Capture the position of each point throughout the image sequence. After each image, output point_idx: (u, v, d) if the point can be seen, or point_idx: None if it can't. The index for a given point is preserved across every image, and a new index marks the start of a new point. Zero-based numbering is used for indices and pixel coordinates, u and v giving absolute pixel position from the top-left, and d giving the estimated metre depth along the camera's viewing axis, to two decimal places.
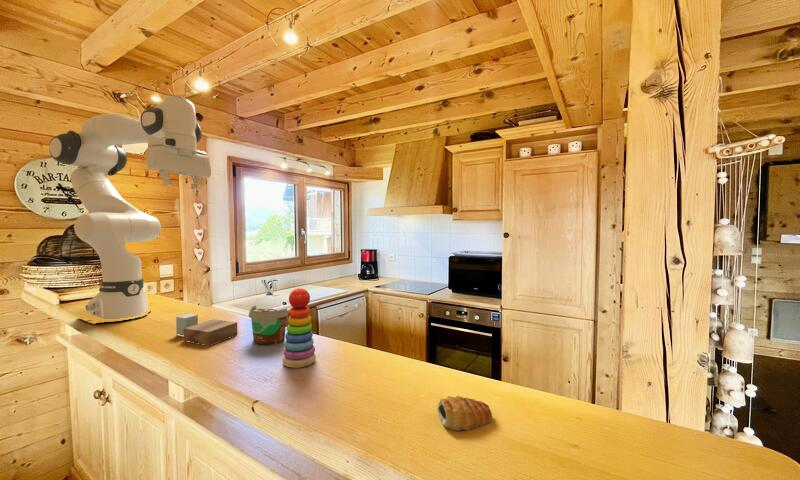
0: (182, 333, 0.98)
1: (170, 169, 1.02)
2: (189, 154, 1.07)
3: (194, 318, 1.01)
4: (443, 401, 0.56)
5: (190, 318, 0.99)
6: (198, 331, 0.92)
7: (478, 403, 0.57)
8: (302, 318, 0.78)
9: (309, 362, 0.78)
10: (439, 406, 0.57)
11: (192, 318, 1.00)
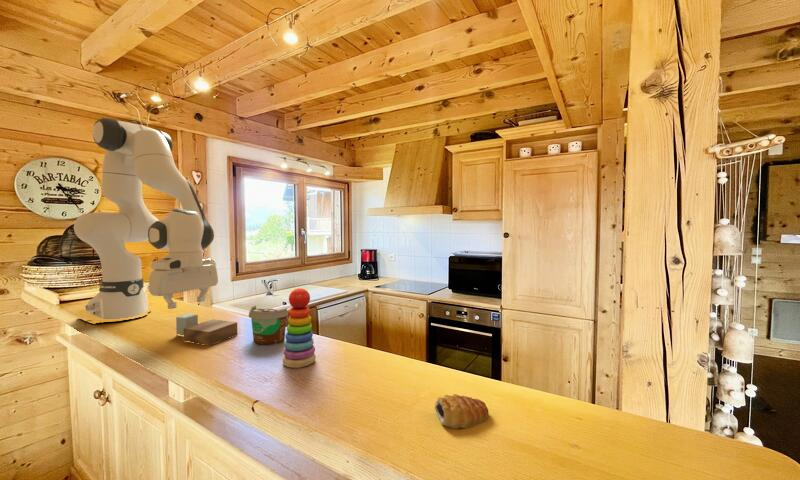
0: (182, 333, 0.98)
1: (175, 292, 0.95)
2: (195, 270, 0.99)
3: (194, 318, 1.01)
4: (441, 400, 0.56)
5: (190, 318, 0.99)
6: (198, 331, 0.92)
7: (475, 401, 0.58)
8: (302, 318, 0.78)
9: (309, 362, 0.78)
10: (437, 405, 0.58)
11: (192, 318, 1.00)
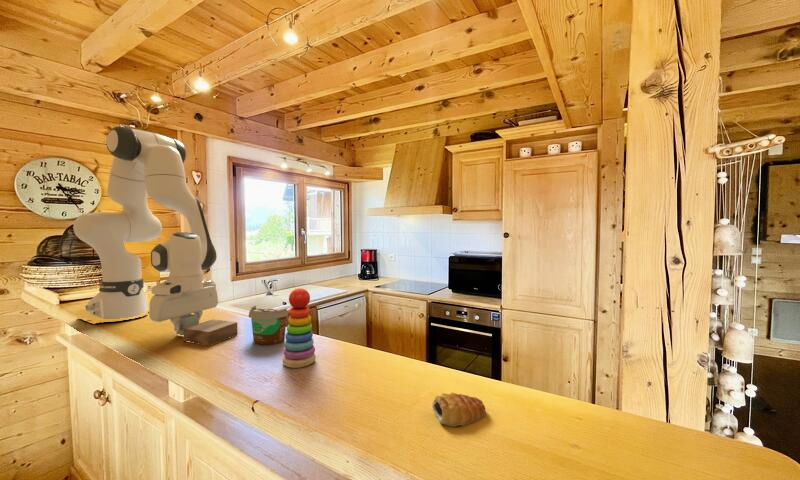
0: (182, 333, 0.98)
1: (175, 316, 0.95)
2: (195, 293, 1.00)
3: (194, 318, 1.01)
4: (439, 398, 0.57)
5: (190, 318, 0.99)
6: (198, 331, 0.92)
7: (472, 399, 0.59)
8: (302, 318, 0.78)
9: (309, 362, 0.78)
10: (434, 403, 0.58)
11: (192, 318, 1.00)
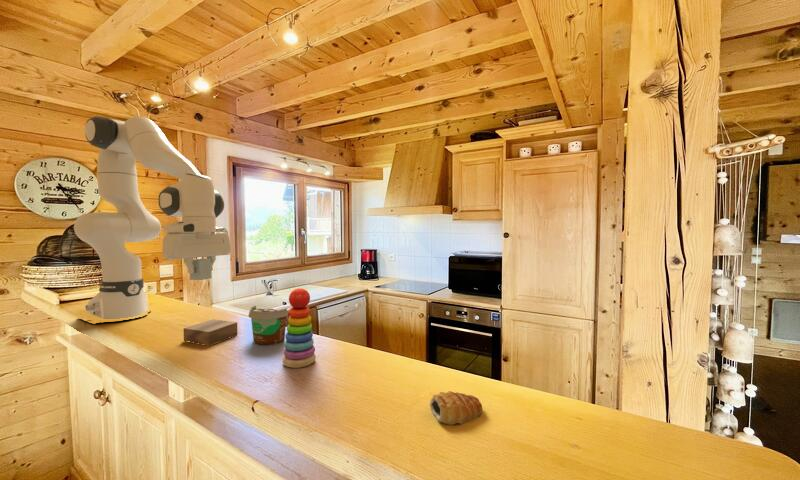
0: (196, 276, 0.96)
1: (188, 256, 0.92)
2: (208, 236, 0.97)
3: (207, 262, 0.98)
4: (436, 397, 0.57)
5: (204, 261, 0.97)
6: (198, 331, 0.92)
7: (469, 397, 0.59)
8: (302, 318, 0.78)
9: (309, 362, 0.78)
10: (432, 402, 0.59)
11: (206, 261, 0.97)
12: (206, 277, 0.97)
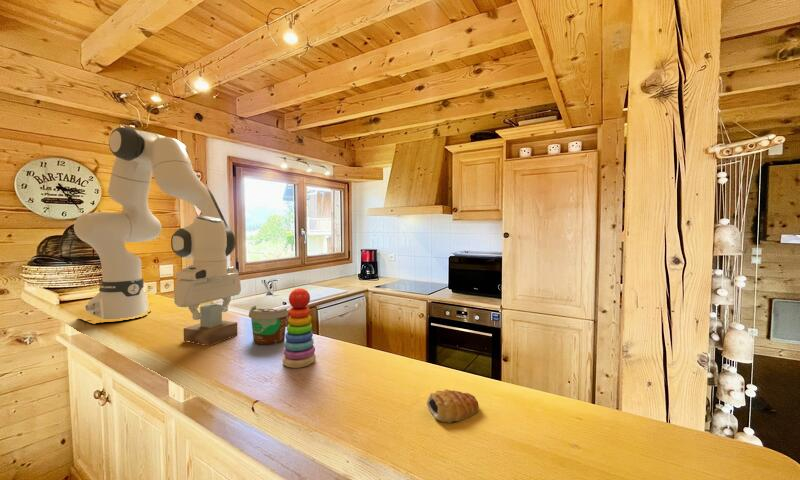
0: (206, 323, 0.95)
1: (200, 302, 0.92)
2: (219, 279, 0.96)
3: (218, 308, 0.97)
4: (434, 395, 0.58)
5: (214, 308, 0.96)
6: (198, 331, 0.92)
7: (465, 395, 0.60)
8: (302, 318, 0.78)
9: (309, 362, 0.78)
10: (429, 401, 0.59)
11: (216, 308, 0.97)
12: (217, 324, 0.97)
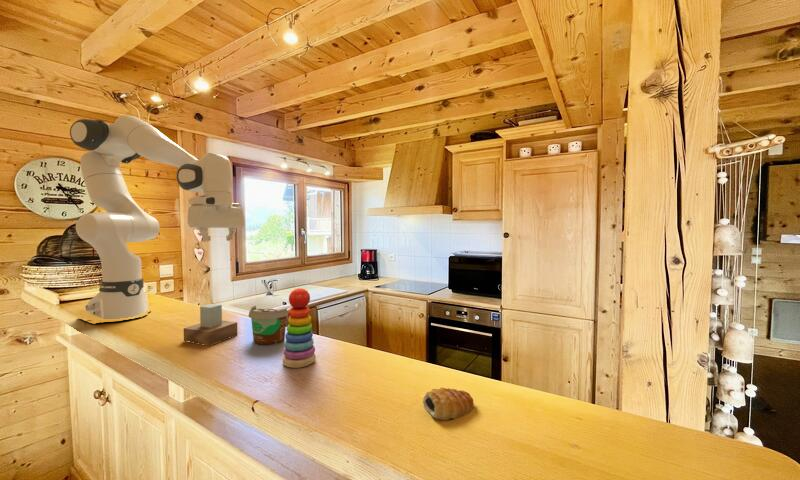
0: (206, 323, 0.95)
1: (209, 226, 1.05)
2: (226, 209, 1.10)
3: (218, 308, 0.97)
4: (430, 394, 0.58)
5: (214, 308, 0.96)
6: (198, 331, 0.92)
7: (461, 392, 0.61)
8: (302, 318, 0.78)
9: (309, 362, 0.78)
10: (425, 399, 0.60)
11: (216, 308, 0.97)
12: (217, 324, 0.97)
